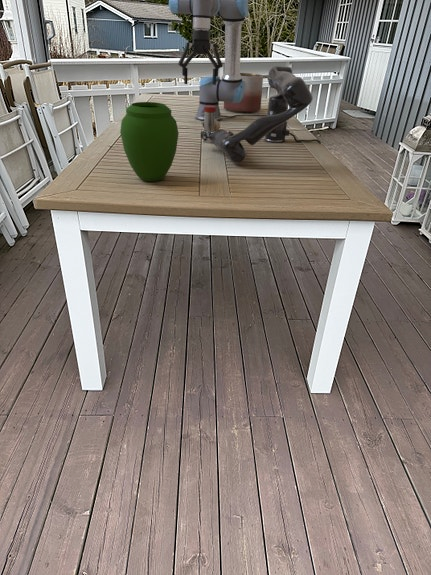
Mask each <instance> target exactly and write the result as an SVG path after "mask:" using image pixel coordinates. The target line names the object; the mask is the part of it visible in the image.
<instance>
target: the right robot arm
mask: <svg viewBox="0 0 431 575" xmlns="http://www.w3.org/2000/svg"><path fill="white" fill-rule="evenodd" d="M267 82H268V86H269V87H270V88H272V89H274V90H275V91H276V92H277V94H273V95H271V96H270V97H269V99H268V107H267V114H266V115H267V116H259V117H257V118H256V119H255V120H254V121H253V122H251V123H250V124H249V125H248V126H247V127H246V128H244V129H242V130H241V131H238V132H237V133H233V132H232V131H231V130H229V131H227V130H225V129H221V128H219V129H218V130H216V131H215V132H212V131H209V132H207V131H206V130H204V129H203V131H200V139H201V140H202V141H204V140H205V141H206V140H207V139H208V140H212V142H213V143H212V144H213V145H214V146H215V147H216V148H217V149H219V150H220V151H221V152H223V153H224V154H225V155H226V156H227V158H228V159H229V160H230V162H232V163H234V164H241V163H242V162H243V161H245V159H246V157H247V151H246V148H245V147H244V145H243V144H242V143H241V142H242V141H245V142H246V143H247V144H248V145H250V146H255V145H256V144H257V143H259V142H260V141H261V140H263V138H264V141H266V142H268V143H269V142H270V143H283V142H285V141H286V137H289V136H292V138H293V139H294V141H295V142H297V143H300V142H305V143H310V142H311V143H312V142H317V143H319V144H322V141H320V140H319V139H314V138H313V139H297V138H296V135H295V134H293V133H292V132H290V130H289V129H287V126H288V120H290V119H292V118H293V117H295V116H296V115H298V114H299V113H301V112H302V111H303V110H305V109H307V107H309V105H310V104H311V103H312V102H313V99H314V96H313V94H312V93H311V91H310V88H309V87H308V85H307V83H306V81H305V80H304V78H302V77H300V76H296V75H295V74H294V73H293V69H292V67H291V66H284V65H283V66H282V65H281V66H279V65H274V66H272V67H271V68H270V69H269V71H268V74H267ZM288 107H289V108H288ZM211 133H212V134H211ZM207 134H208V136H207Z"/></svg>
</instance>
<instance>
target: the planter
mask: <svg viewBox="0 0 431 575" xmlns="http://www.w3.org/2000/svg"><path fill="white" fill-rule="evenodd" d="M240 75H241V76H242V81H244V82H245V91H244V95H243V98H242V100H241V102H239V103H232V102H223V108H224V109H225V110H226V111H228V112H232V113H238V114H255V113H259V111H260V110H261V108H262V97H263V83H264V75H263V74H260V73H259V74H258V73H253V72H251V73H250V72H240Z"/></svg>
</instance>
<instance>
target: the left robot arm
mask: <svg viewBox="0 0 431 575" xmlns="http://www.w3.org/2000/svg"><path fill="white" fill-rule="evenodd" d="M168 8H169V10H170V12H171V13H172V14H177V15H181V14H182V15H192V29H193V30H192V42H189V41H186V42H185V45H184V49H183V52H182V53H181V56H180V58H179V60H178V63H177V65H178V66H179V67H180V68H181V73H182V77H184V78H183V83H184V85H188V72H189V71H188V67H187V66H188V65H189V63H190V62H191V61H192V59H193V58H194V57H195V56H196V55H198V56H199V55H203V56H207V59H208V60H209V61H210V62H211V64H212V66H213V67H214V68H212V76H205V77H201V78H200V80H199V86H198V87H199V94H198V95H199V100H198V101H199V103H198V104H199V105H198V107H197V111H196V114H195V119H196V120H199V121H202V122H204V114H205V111H204V106H207V105H209V106H216V111H215V118H216V119H217V121H221V120H222V118H236V117H263V116H267V115H268V114H249V113H242V114H234V115H223V114H221V110H220V107H219V105H220V103H219V102H223V103H224V102H232V103H239V102H241V100H242V98H243V95H244V91H245V82H244V81H242V76H241V75H240V73H241V54H242V53H241V49H242V25H243V23H244V22H245V19H246V18H247V17H248V15H249V9H250V8H249V0H168ZM212 16H216V17H222V22H223V24H224V74H223V75H222V76H220V75H219V69H220V68H223V63H222V60H221V57H220V54H219V51H218V48H217V47H218V46H217V43H211V42H210V41H211V31H210V30H211V18H212ZM191 48H192V51H191V52H190V54H189V55H187V54H188V52H189V50H190V49H191ZM210 49H211V50H212V52H213V55H212V53H211V51H209V50H210ZM213 56H214V57H213Z"/></svg>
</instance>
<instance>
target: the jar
mask: <svg viewBox="0 0 431 575" xmlns="http://www.w3.org/2000/svg"><path fill="white" fill-rule="evenodd" d="M214 121H215V112H205V114H204V121H203V122H204V128H203V131H204V130H206V131H207V132H209V131H212V132H214ZM211 134H212V133H211ZM207 136H208V134H207ZM203 143H206V144H213V142H212V140H208V139H207V140H206V141H205V140H203Z"/></svg>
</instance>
